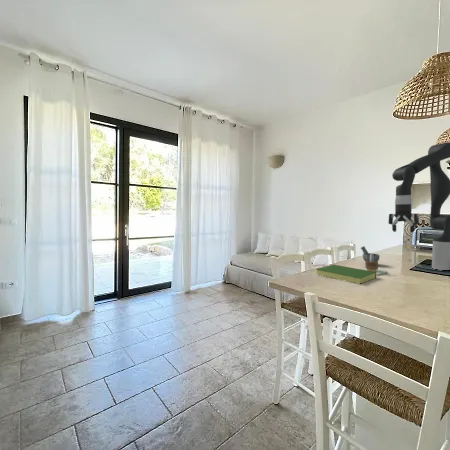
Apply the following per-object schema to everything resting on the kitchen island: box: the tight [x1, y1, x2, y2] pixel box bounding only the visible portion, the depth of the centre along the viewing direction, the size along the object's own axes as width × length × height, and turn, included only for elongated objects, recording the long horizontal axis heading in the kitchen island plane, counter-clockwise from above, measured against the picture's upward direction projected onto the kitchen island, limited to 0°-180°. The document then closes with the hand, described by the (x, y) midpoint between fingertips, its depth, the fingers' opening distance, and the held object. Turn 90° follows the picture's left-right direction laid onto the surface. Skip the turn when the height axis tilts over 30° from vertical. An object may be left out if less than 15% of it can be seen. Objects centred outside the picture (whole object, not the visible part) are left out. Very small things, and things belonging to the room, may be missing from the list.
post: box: [360, 253, 388, 277], centre depth 147 cm, size 12×12×11 cm
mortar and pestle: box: [360, 245, 381, 263], centre depth 167 cm, size 11×9×12 cm
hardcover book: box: [315, 264, 377, 285], centre depth 139 cm, size 25×19×4 cm
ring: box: [364, 260, 379, 270], centre depth 147 cm, size 6×6×4 cm
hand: (403, 232), depth 142 cm, fingers open, 8 cm apart
